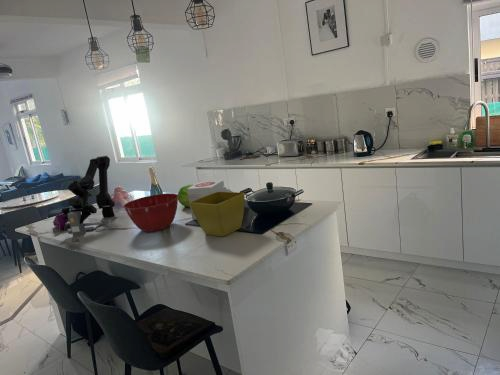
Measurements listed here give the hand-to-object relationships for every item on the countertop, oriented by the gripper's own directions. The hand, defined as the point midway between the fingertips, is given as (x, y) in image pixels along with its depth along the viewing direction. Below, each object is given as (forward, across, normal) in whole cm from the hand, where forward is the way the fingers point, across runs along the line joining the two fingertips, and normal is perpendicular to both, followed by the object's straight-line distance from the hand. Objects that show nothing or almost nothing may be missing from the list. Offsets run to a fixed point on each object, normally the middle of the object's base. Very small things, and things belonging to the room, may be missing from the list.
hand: (75, 224), depth 206 cm
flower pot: (+15, +87, -6) cm, 88 cm away
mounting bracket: (-9, -23, +20) cm, 32 cm away
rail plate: (-3, -3, +13) cm, 13 cm away
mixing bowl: (+5, +47, +5) cm, 47 cm away
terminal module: (+4, 0, +5) cm, 7 cm away
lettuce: (-20, +58, +30) cm, 68 cm away
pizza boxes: (-7, +77, +16) cm, 79 cm away
